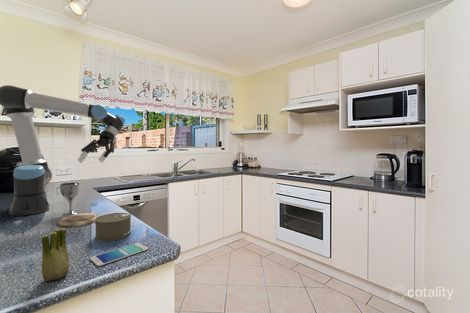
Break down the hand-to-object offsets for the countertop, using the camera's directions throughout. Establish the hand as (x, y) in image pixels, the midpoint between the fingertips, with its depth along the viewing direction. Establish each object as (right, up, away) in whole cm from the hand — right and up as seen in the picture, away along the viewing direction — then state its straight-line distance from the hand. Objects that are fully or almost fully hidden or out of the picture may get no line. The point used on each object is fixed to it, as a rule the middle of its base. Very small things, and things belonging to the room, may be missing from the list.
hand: (89, 161), depth 127 cm
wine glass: (-2, -26, -11) cm, 29 cm away
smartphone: (+44, -28, -56) cm, 77 cm away
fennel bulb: (+35, -28, -69) cm, 82 cm away
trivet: (+10, -26, -23) cm, 37 cm away
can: (+34, -27, -40) cm, 59 cm away
